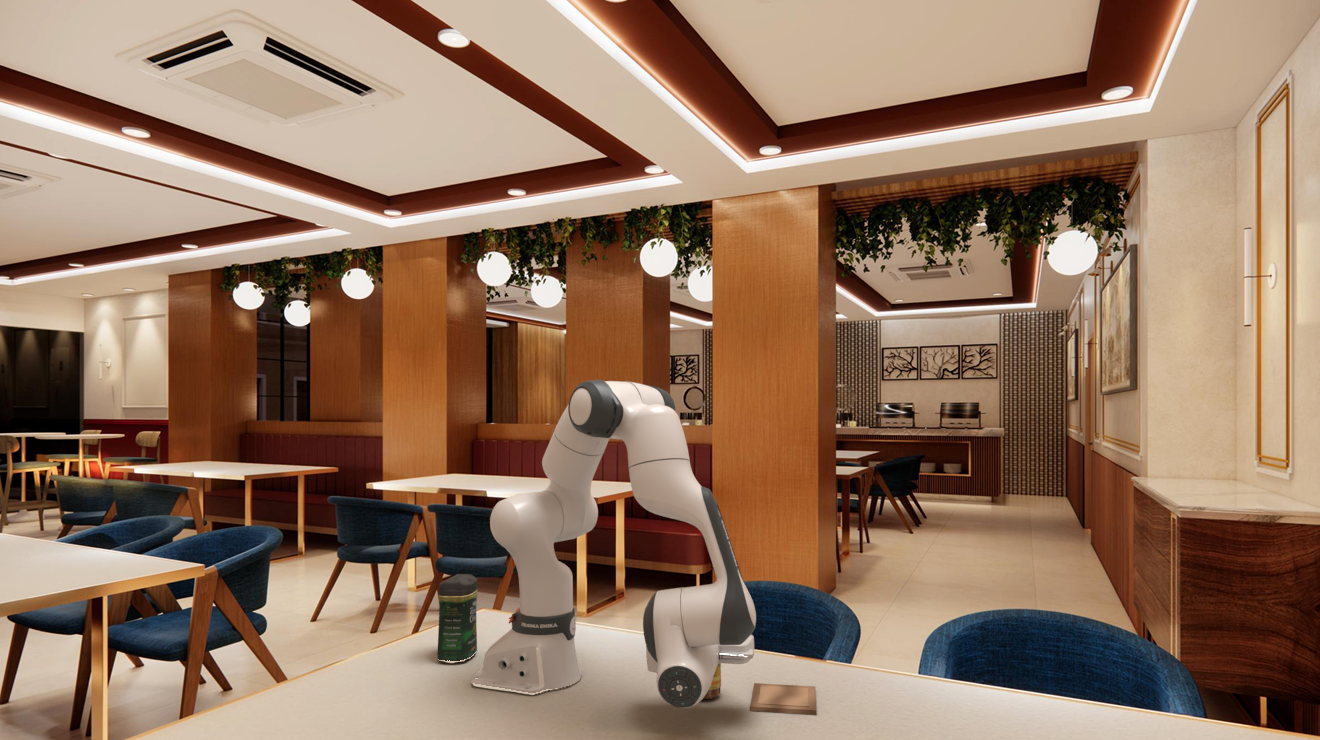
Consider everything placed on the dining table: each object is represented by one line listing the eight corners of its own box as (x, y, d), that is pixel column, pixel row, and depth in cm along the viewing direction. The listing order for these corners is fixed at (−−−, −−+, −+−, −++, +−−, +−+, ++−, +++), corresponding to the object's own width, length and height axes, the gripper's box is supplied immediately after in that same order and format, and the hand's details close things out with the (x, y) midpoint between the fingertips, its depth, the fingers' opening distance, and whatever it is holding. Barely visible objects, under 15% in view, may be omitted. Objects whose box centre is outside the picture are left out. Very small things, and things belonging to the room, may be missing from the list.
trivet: (750, 710, 135) (750, 705, 135) (754, 687, 146) (754, 682, 146) (816, 714, 132) (816, 709, 132) (815, 690, 144) (815, 685, 144)
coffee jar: (467, 665, 162) (467, 580, 163) (432, 665, 163) (433, 580, 164) (481, 651, 172) (482, 571, 173) (449, 651, 172) (449, 571, 174)
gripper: (752, 640, 128) (757, 619, 142) (638, 634, 132) (654, 614, 146) (753, 677, 128) (758, 652, 141) (639, 670, 132) (654, 647, 145)
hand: (704, 633), depth 143 cm, fingers closed on sauce bottle, 6 cm apart
